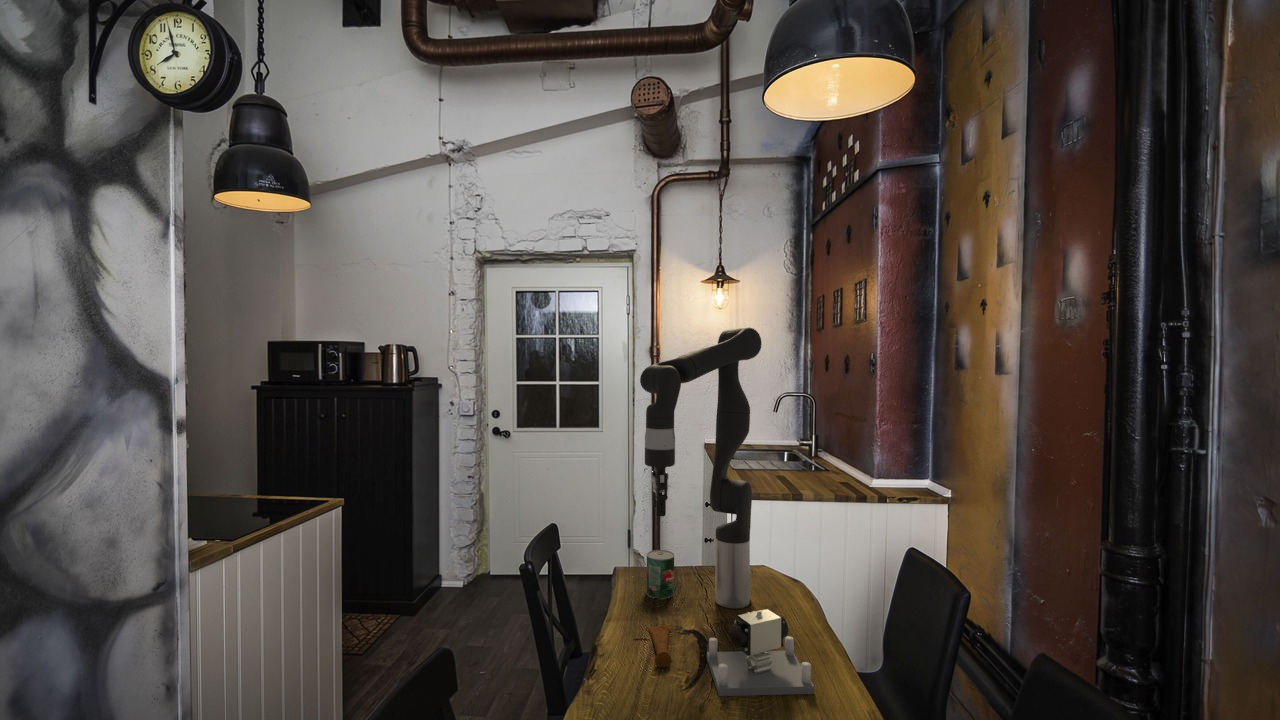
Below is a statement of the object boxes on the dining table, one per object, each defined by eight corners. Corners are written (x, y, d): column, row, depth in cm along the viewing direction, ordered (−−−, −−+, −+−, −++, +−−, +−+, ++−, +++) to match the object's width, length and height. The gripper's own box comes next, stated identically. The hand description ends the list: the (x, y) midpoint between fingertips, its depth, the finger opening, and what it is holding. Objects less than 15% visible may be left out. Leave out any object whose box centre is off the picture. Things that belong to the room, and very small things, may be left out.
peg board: (718, 696, 112) (719, 670, 112) (706, 658, 126) (706, 636, 126) (814, 693, 113) (814, 668, 113) (791, 657, 127) (792, 634, 127)
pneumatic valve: (788, 668, 120) (789, 610, 120) (741, 680, 115) (742, 620, 115) (772, 655, 125) (772, 600, 125) (726, 667, 120) (727, 609, 120)
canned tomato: (674, 599, 158) (675, 559, 158) (646, 599, 158) (646, 559, 158) (673, 588, 165) (673, 549, 165) (646, 587, 166) (646, 549, 166)
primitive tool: (647, 628, 141) (647, 614, 141) (669, 628, 142) (669, 613, 142) (654, 670, 122) (654, 654, 122) (680, 670, 123) (680, 653, 123)
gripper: (678, 450, 136) (677, 519, 135) (671, 442, 150) (671, 504, 150) (646, 450, 135) (646, 519, 135) (643, 442, 149) (642, 504, 149)
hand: (659, 511), depth 142 cm, fingers open, 8 cm apart
